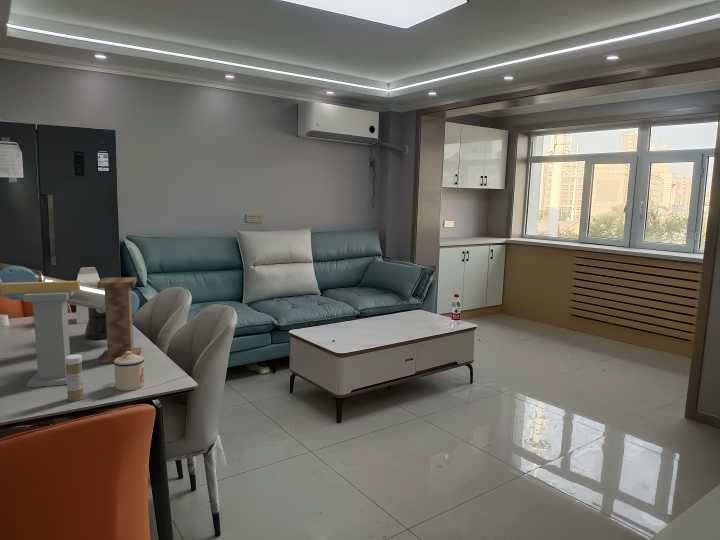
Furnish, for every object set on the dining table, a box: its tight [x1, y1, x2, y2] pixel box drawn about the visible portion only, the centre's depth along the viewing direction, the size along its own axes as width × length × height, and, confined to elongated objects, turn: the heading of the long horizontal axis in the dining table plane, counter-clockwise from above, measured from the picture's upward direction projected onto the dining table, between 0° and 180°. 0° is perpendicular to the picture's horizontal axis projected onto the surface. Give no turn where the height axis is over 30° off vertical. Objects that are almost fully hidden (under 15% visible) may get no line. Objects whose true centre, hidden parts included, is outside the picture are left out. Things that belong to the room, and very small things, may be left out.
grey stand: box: [22, 291, 74, 388], centre depth 173 cm, size 13×13×30 cm
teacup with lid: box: [113, 351, 145, 392], centre depth 171 cm, size 12×9×12 cm
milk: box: [75, 266, 101, 324], centre depth 255 cm, size 12×12×26 cm
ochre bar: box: [1, 280, 81, 294], centre depth 170 cm, size 22×3×3 cm, turn 108°
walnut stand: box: [97, 276, 142, 365], centre depth 197 cm, size 13×13×30 cm
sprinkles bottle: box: [65, 354, 85, 402], centre depth 158 cm, size 5×5×14 cm
